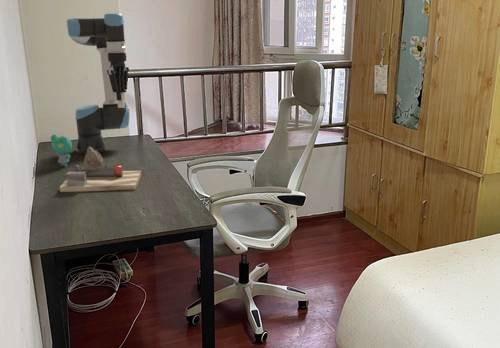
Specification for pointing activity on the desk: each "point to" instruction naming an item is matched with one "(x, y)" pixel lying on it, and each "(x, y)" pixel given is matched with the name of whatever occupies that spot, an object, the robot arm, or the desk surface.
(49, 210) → the desk surface
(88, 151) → the rock
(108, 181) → the board
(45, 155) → the desk surface
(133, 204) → the desk surface
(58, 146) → the toy
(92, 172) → the lever
